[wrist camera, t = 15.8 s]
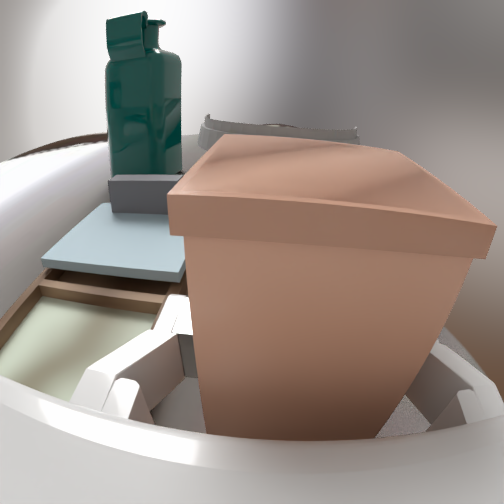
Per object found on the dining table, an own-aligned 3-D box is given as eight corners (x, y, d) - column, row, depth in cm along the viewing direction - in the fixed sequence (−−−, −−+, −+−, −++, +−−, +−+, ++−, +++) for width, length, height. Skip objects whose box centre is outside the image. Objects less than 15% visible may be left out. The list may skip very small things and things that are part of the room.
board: (-38, 405, 9) (-51, 389, 9) (105, 226, 28) (103, 212, 27) (124, 482, 9) (112, 470, 8) (212, 232, 27) (211, 217, 27)
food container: (176, 263, 23) (168, 123, 18) (203, 227, 28) (202, 113, 23) (349, 288, 21) (378, 141, 16) (344, 245, 26) (363, 127, 21)
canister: (211, 484, 10) (167, 194, 4) (226, 388, 14) (224, 133, 8) (339, 488, 9) (497, 226, 4) (331, 394, 14) (397, 151, 8)
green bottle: (135, 167, 46) (133, 28, 34) (186, 169, 44) (187, 20, 33) (100, 188, 37) (94, 21, 26) (157, 191, 36) (156, 7, 25)
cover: (43, 267, 18) (30, 220, 17) (103, 209, 27) (98, 173, 25) (179, 282, 18) (174, 227, 16) (210, 214, 26) (210, 173, 25)
